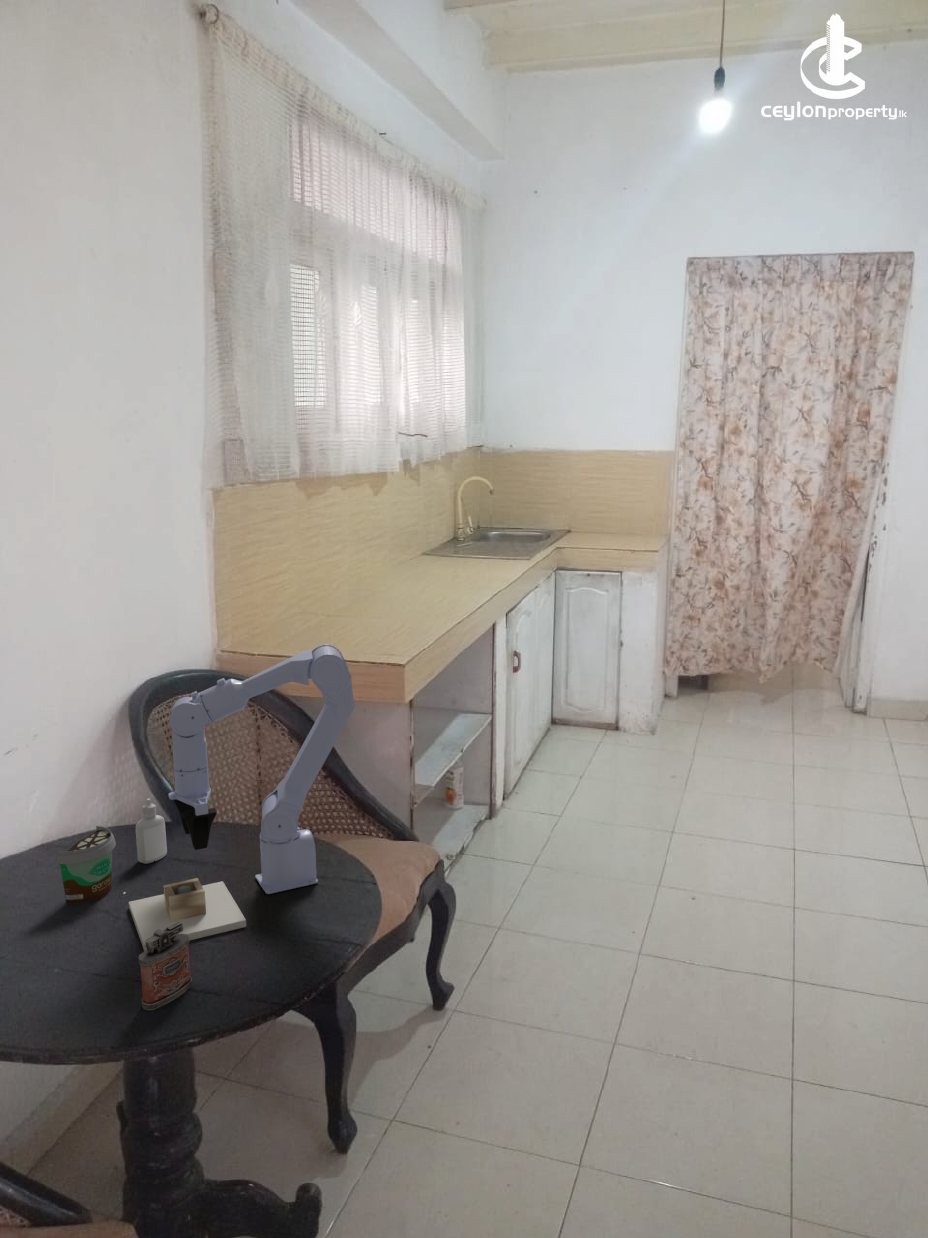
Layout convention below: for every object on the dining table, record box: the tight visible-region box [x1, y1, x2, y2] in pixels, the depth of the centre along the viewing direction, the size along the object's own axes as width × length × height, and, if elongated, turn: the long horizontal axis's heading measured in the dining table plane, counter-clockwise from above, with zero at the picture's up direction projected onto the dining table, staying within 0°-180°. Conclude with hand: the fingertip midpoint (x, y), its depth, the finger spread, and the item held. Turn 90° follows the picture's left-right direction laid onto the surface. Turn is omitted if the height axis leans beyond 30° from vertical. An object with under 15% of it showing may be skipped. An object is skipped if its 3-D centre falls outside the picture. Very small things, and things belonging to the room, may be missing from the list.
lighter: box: [137, 922, 193, 1011], centre depth 132 cm, size 8×3×10 cm, turn 148°
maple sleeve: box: [163, 877, 206, 922], centre depth 154 cm, size 6×6×4 cm
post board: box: [128, 881, 247, 952], centre depth 154 cm, size 16×16×5 cm
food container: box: [56, 825, 117, 905], centre depth 163 cm, size 12×6×10 cm, turn 168°
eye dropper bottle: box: [135, 798, 168, 865], centre depth 177 cm, size 4×6×12 cm
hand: (195, 840), depth 163 cm, fingers open, 7 cm apart
